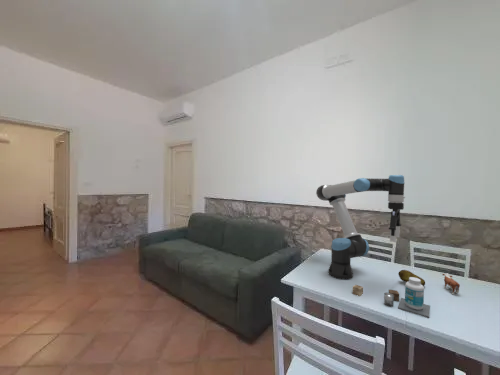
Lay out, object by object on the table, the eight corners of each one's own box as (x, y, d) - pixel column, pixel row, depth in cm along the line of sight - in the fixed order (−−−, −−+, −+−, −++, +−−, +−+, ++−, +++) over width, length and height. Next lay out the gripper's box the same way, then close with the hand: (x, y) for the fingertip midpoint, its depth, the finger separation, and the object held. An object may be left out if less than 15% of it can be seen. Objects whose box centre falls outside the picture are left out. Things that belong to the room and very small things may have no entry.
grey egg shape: (383, 304, 116) (383, 294, 116) (385, 301, 119) (385, 292, 119) (392, 307, 113) (393, 297, 113) (394, 304, 116) (394, 294, 116)
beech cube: (352, 293, 127) (352, 286, 127) (355, 291, 130) (355, 284, 129) (359, 296, 124) (360, 289, 124) (363, 294, 127) (363, 287, 126)
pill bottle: (401, 302, 117) (402, 275, 116) (416, 302, 117) (417, 275, 116) (411, 310, 109) (412, 282, 109) (427, 310, 109) (428, 282, 109)
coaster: (397, 308, 112) (397, 307, 112) (401, 299, 121) (401, 297, 121) (428, 318, 105) (429, 316, 105) (430, 307, 114) (430, 305, 114)
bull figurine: (449, 286, 137) (449, 272, 137) (461, 296, 125) (461, 281, 124) (440, 285, 139) (440, 271, 138) (451, 295, 126) (451, 280, 126)
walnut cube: (390, 300, 120) (390, 292, 120) (388, 296, 124) (388, 289, 124) (399, 301, 119) (399, 294, 119) (397, 298, 123) (397, 290, 123)
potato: (422, 290, 131) (423, 276, 131) (396, 283, 140) (397, 270, 140) (425, 286, 137) (426, 272, 137) (400, 279, 146) (401, 266, 146)
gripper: (400, 204, 120) (399, 244, 120) (406, 201, 139) (405, 236, 139) (384, 203, 125) (383, 242, 125) (391, 200, 144) (391, 234, 144)
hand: (394, 239), depth 132 cm, fingers open, 13 cm apart
